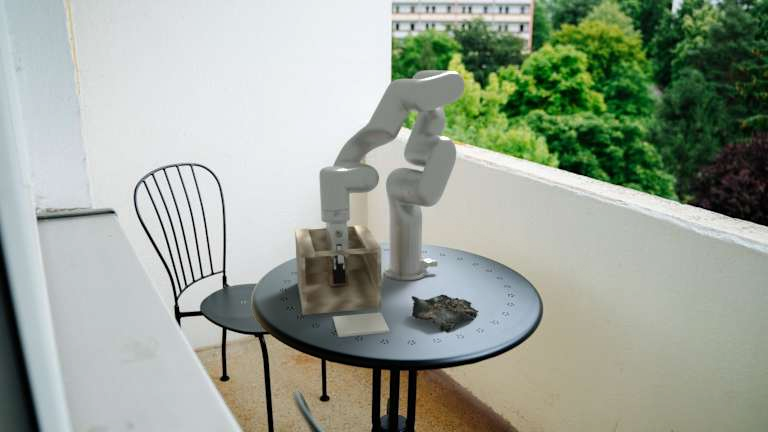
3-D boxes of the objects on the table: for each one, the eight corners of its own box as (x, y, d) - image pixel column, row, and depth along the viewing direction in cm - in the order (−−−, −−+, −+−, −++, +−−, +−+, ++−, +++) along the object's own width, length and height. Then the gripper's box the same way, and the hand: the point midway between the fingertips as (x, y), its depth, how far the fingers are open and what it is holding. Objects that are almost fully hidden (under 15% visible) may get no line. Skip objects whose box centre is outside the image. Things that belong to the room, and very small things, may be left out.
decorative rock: (432, 282, 155) (486, 288, 148) (433, 304, 156) (486, 311, 149) (400, 303, 139) (459, 311, 132) (401, 327, 140) (459, 336, 133)
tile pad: (380, 314, 145) (380, 312, 144) (389, 332, 135) (389, 329, 135) (332, 318, 142) (332, 316, 142) (338, 337, 133) (338, 334, 133)
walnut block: (346, 277, 159) (345, 253, 157) (348, 284, 154) (347, 259, 153) (327, 279, 158) (326, 255, 156) (330, 286, 153) (328, 261, 152)
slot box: (366, 277, 169) (365, 224, 165) (381, 307, 148) (381, 248, 144) (297, 283, 165) (295, 229, 161) (303, 314, 145) (300, 253, 140)
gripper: (354, 221, 144) (356, 289, 149) (345, 205, 160) (347, 267, 165) (324, 224, 142) (327, 292, 147) (318, 207, 159) (320, 269, 163)
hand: (338, 278), depth 156 cm, fingers closed on walnut block, 5 cm apart
